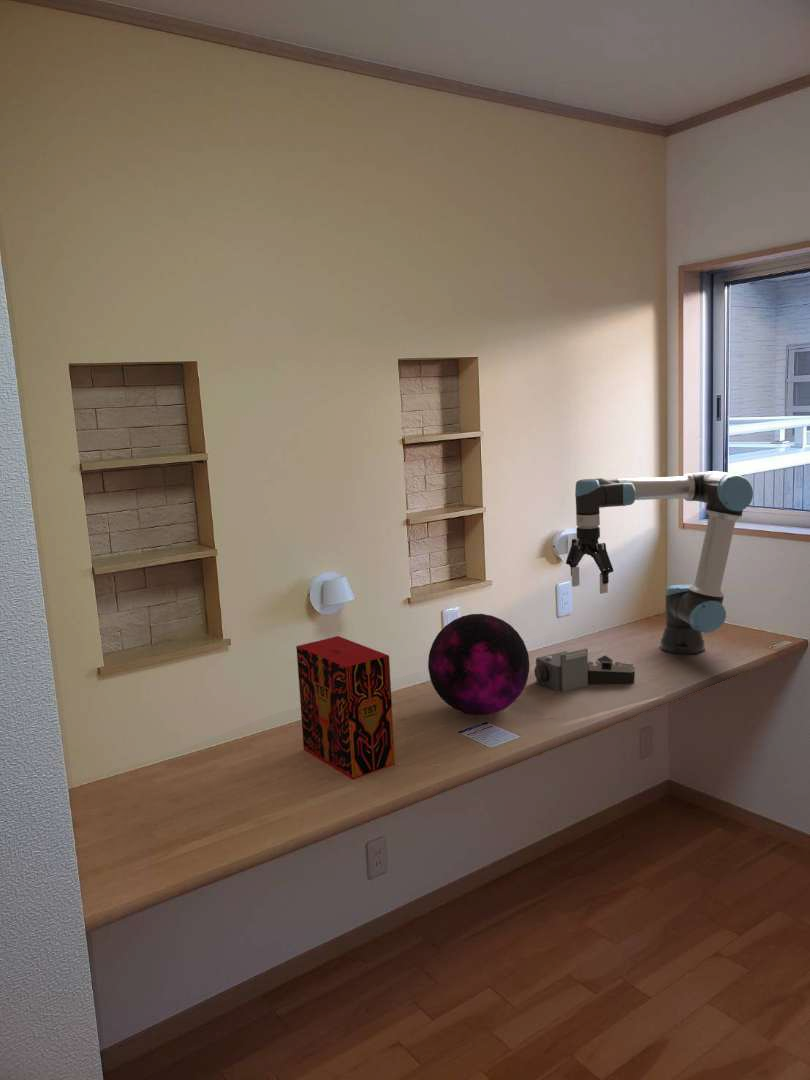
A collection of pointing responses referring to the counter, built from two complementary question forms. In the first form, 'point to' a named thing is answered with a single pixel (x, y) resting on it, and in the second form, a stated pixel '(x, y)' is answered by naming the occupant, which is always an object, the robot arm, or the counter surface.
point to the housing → (549, 671)
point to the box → (346, 705)
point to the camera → (610, 672)
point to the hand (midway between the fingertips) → (589, 589)
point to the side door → (574, 669)
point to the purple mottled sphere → (478, 664)
